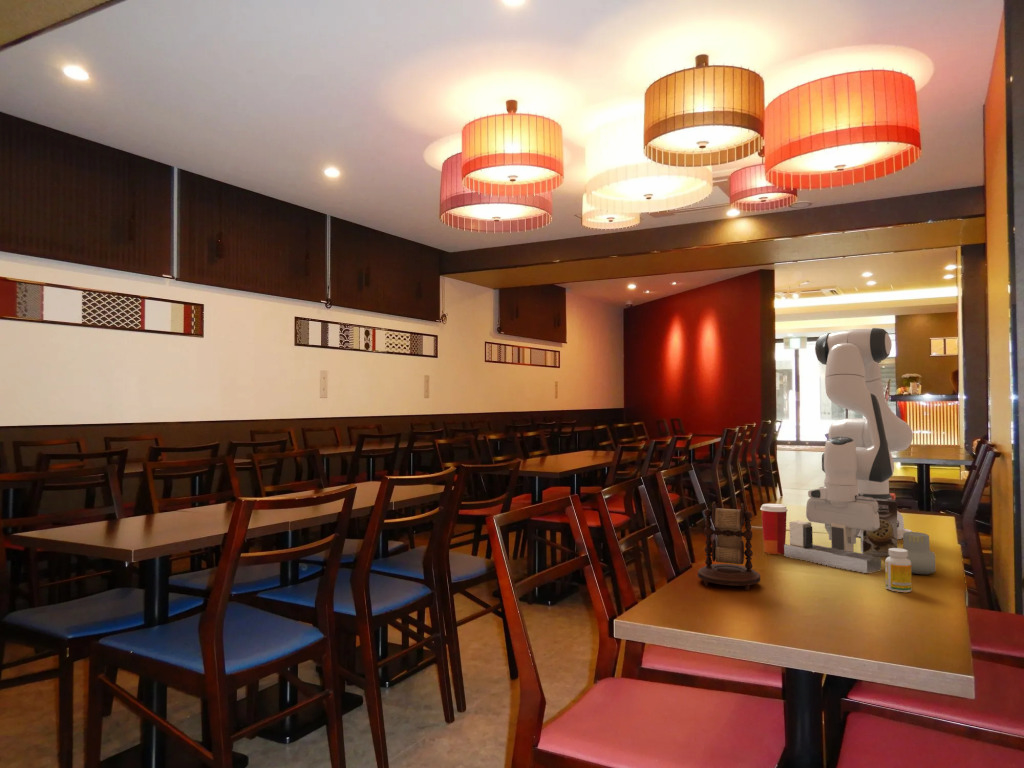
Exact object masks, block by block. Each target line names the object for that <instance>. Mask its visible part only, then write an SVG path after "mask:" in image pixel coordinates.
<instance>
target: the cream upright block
mask: <svg viewBox="0 0 1024 768" xmlns="http://www.w3.org/2000/svg"><path fill="white" fill-rule="evenodd" d="M852 534H853V532H851V528H848V527H846V525H842V524H836V523H831V540H830V541H831V542H830V545H831V547H830V548H835V549H840V550H846V551H851V552H855V550H854V545H855V544H850V543H848V537H851V536H852Z"/></svg>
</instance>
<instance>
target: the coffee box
mask: <svg viewBox="0 0 1024 768" xmlns="http://www.w3.org/2000/svg"><path fill="white" fill-rule="evenodd" d="M873 499H874V500H876V501H877V502H878V514H879V521H880V527H879V528H878V530H875V531H867V530H861V537H860V551H861V553H862V554H867V555H874V556H878V557H886V558H887V557H890V555H889V554H888V553H889V549H890V548H898V539H897V511H898V501H897V500H896V499H895V500H894V499H878V498H873ZM866 501H867V500H866ZM874 502H875V501H874Z"/></svg>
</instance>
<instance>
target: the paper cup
mask: <svg viewBox="0 0 1024 768" xmlns="http://www.w3.org/2000/svg"><path fill="white" fill-rule="evenodd" d="M759 508H760V509H759V510H761V524H762V537H763V539H762V540H763V551H764V553H765V552H766V554H768V553H771V554H770V555H775V554H781V555H784V554H783V553H784V545H785V544H786V535H787V516H788V515H787V512H788V509H787V505H785V504H780V503H763V504H762V505H761V506H760V507H759Z"/></svg>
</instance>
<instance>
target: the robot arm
mask: <svg viewBox="0 0 1024 768" xmlns="http://www.w3.org/2000/svg"><path fill="white" fill-rule="evenodd" d="M892 346H893V345H892V339H891V337H890V335H889V332H888V331H886V330H885V329H883V328H878V327H872V328H856V329H855V328H854V329H849V330H842V331H838V332H832V333H831V332H828V333H825V334H821V335H820V336H819V337H818V338H817V339H816V341H815V345H814V352H815V356H816V358H817V359H816V360H817V361H818V362H820V363H821V364H822V365H825V372H824V373H825V374H824V376H825V377H824V385H825V387H824V388H825V393H826V396H827V398H828V399H829V401H831V402H832V403H833V404H834V405H837V406H838V407H840V408H843V409H846V410H849V411H852V412H854V413H858V414H859V415H861V416H863V417H864V418H862V417H861V418H860V417H859V418H856V417H855V418H853V417H851V418H850V417H848V418H843V419H837V420H834V421H833V422H832V423H831V424H830V426H829V429H828V438H827V439H826V440H825V444H824V451H823V453H822V455H821V470H822V471H823V473H825V475H824V476H825V477H824V481H823V486H821V487H817V488H814V489H810V490H808V491H807V497H808V500H807V501H806V506H805V507H806V510H805V511H806V512H805V513H806V514H805V517H806V519H807V520H808V522H811V523H816V524H824V528H825V531H826V532H827V534H828V540H829V541H831V523H836V524H842V525H846V527H848V528H851V532H853V534H852V536H851V537H848V543H850V544H853V545H856V544H857V537H860V538H861V530H867V531H875V530H878V528H879V527H880V521H879V514H878V502H877V501H876V500H874V499H873V498H878V499H894V500H895V501H896V493H890V479H891V477H892V476H893V475H894V472H895V463H894V462H895V461H894V458H893V456H892V452H893V453H894V452H902V451H906V450H907V449H908V448H910V446H911V445H912V442H913V439H914V438H913V436H914V435H913V430H912V428H911V426H910V425H909V423H907V422H906V421H904V420H903V419H901V418H900V417H899V416H897V415H896V414H895V413H894V411H893V410H892V409H891V408H890V406H889V405H888V402H887V400H886V397H885V392H884V388H883V387H884V386H883V380H882V371H881V366H880V364H881V362H882V361H884V360H886V359H887V358H888V357H889V356H890V354H891V351H892ZM866 500H867V501H866ZM874 501H875V502H874ZM904 525H905V524H904V516H903V515H902V514H901V512H899V511H898V510H897V540H902V539H903V534H904V533H905V532H913V531H912V530H911V529H907V528H905V526H904Z"/></svg>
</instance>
